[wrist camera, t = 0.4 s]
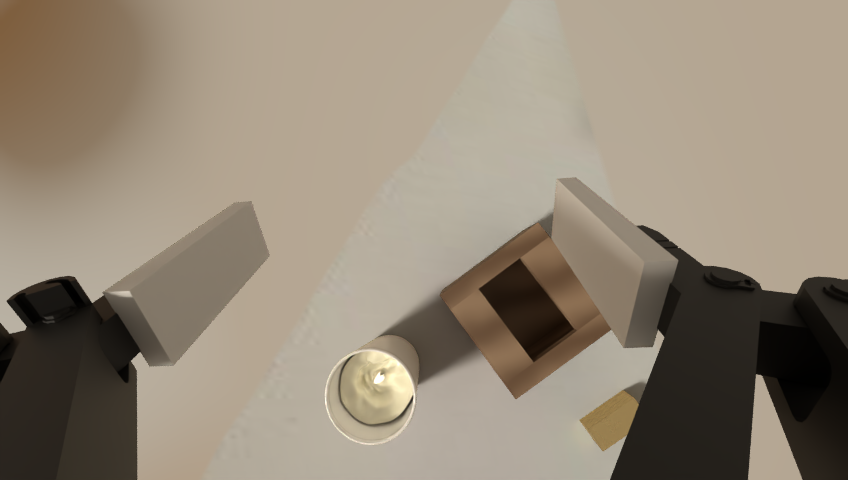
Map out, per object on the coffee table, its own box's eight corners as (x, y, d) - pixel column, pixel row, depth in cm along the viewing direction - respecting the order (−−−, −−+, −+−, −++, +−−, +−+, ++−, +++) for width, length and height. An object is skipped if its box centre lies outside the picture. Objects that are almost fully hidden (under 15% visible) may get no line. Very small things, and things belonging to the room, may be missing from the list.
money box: (586, 313, 46) (618, 323, 37) (503, 374, 46) (515, 399, 37) (521, 231, 48) (538, 222, 39) (441, 290, 48) (439, 295, 39)
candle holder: (416, 322, 48) (405, 340, 36) (432, 393, 47) (425, 435, 35) (349, 336, 48) (316, 359, 36) (363, 407, 47) (334, 453, 35)
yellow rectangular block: (636, 409, 45) (649, 419, 42) (593, 439, 45) (603, 451, 42) (622, 389, 45) (634, 398, 42) (578, 419, 45) (587, 430, 42)
